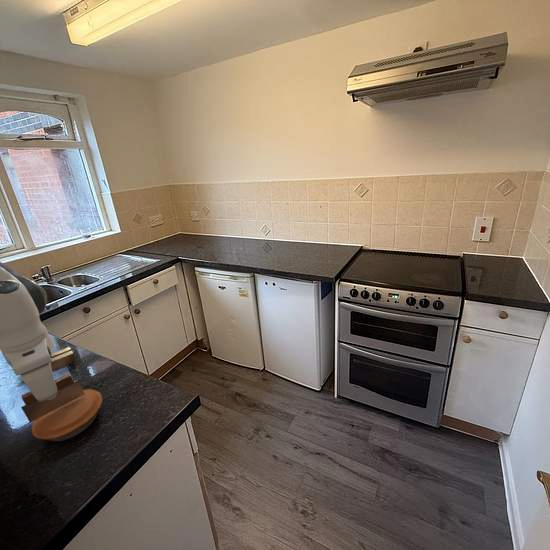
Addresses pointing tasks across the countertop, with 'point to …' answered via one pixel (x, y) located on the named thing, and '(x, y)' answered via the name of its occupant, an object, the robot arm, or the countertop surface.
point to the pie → (68, 418)
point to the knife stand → (62, 358)
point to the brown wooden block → (66, 394)
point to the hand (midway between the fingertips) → (51, 394)
